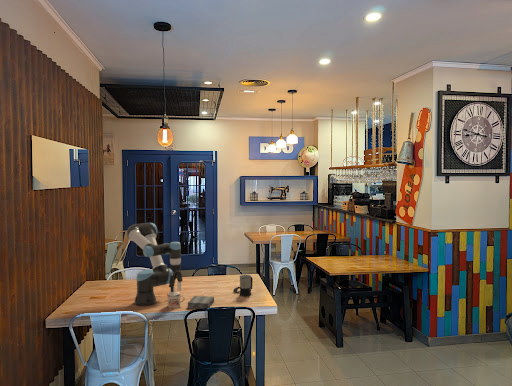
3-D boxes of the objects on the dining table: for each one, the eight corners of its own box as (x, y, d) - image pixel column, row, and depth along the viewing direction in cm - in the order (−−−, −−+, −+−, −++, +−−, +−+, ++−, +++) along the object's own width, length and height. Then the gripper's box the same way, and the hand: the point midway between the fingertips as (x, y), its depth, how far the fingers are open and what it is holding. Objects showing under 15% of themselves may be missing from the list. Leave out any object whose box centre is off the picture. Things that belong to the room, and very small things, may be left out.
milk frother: (249, 297, 285) (249, 278, 285) (230, 295, 289) (229, 277, 288) (253, 291, 299) (253, 273, 299) (234, 290, 302) (234, 272, 302)
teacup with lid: (167, 308, 261) (166, 292, 260) (167, 304, 270) (167, 288, 269) (184, 307, 263) (184, 291, 263) (184, 303, 272) (184, 287, 272)
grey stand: (187, 308, 261) (187, 302, 261) (194, 301, 276) (194, 295, 276) (208, 309, 259) (208, 303, 259) (214, 302, 274) (214, 296, 274)
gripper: (174, 267, 252) (174, 298, 253) (186, 260, 277) (186, 288, 278) (163, 267, 253) (164, 298, 254) (176, 260, 278) (177, 288, 279)
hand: (176, 293), depth 266 cm, fingers open, 13 cm apart
